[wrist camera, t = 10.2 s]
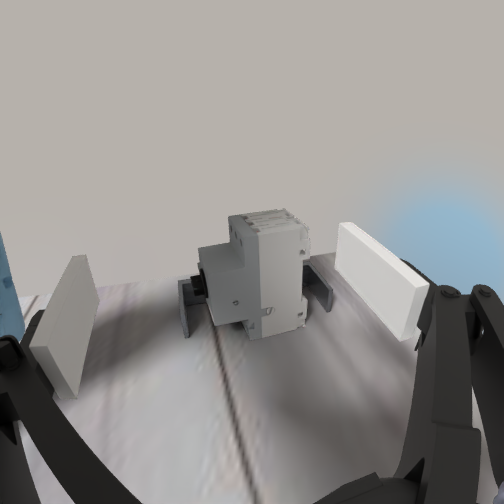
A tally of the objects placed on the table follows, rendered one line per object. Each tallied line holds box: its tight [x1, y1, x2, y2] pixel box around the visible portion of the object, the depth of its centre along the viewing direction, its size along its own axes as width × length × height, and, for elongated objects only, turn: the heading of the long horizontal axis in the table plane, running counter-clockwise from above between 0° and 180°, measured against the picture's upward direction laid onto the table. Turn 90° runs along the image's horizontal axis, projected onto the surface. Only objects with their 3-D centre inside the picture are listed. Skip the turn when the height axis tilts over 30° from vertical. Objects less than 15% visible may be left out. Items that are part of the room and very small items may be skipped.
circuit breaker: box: [190, 209, 310, 341], centre depth 42 cm, size 8×14×15 cm, turn 107°
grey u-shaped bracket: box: [178, 261, 333, 338], centre depth 47 cm, size 22×9×4 cm, turn 103°
